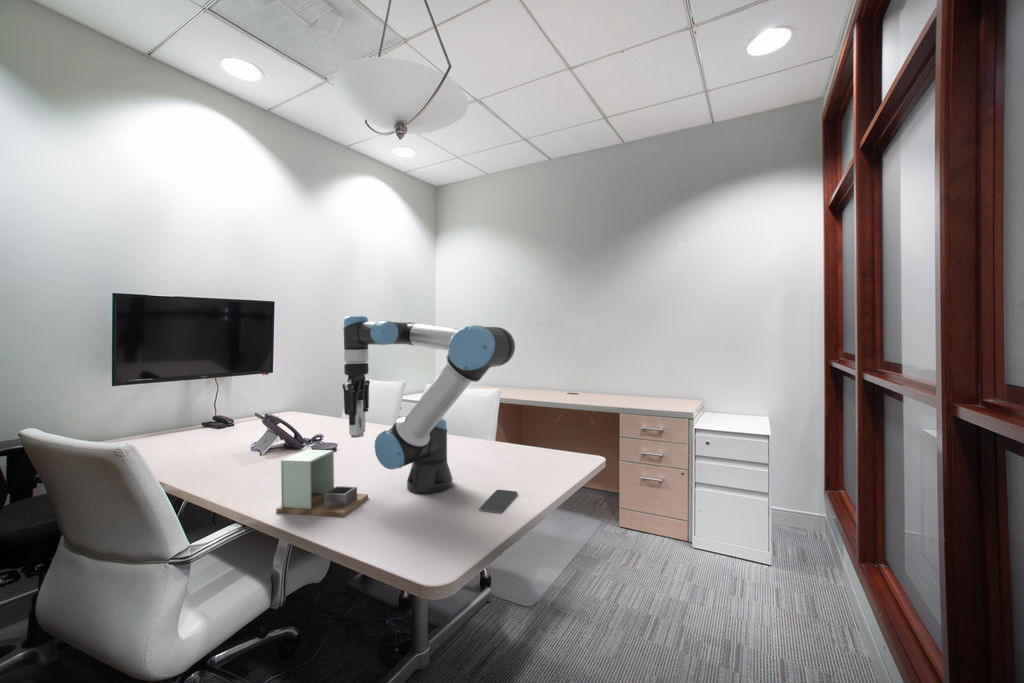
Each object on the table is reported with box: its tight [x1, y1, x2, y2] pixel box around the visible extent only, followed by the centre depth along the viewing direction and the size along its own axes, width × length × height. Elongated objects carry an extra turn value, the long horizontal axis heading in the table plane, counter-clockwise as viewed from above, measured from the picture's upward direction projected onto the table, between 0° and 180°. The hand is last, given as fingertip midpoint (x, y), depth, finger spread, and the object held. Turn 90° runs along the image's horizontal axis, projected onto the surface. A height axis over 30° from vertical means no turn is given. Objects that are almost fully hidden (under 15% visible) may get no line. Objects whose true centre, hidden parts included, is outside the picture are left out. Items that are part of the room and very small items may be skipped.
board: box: [275, 485, 369, 518], centre depth 125 cm, size 21×14×5 cm, turn 81°
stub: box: [350, 399, 365, 439], centre depth 139 cm, size 4×4×12 cm
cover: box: [280, 449, 335, 509], centre depth 126 cm, size 9×12×14 cm
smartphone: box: [478, 489, 518, 515], centre depth 127 cm, size 7×1×16 cm
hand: (357, 432), depth 139 cm, fingers closed on stub, 4 cm apart
